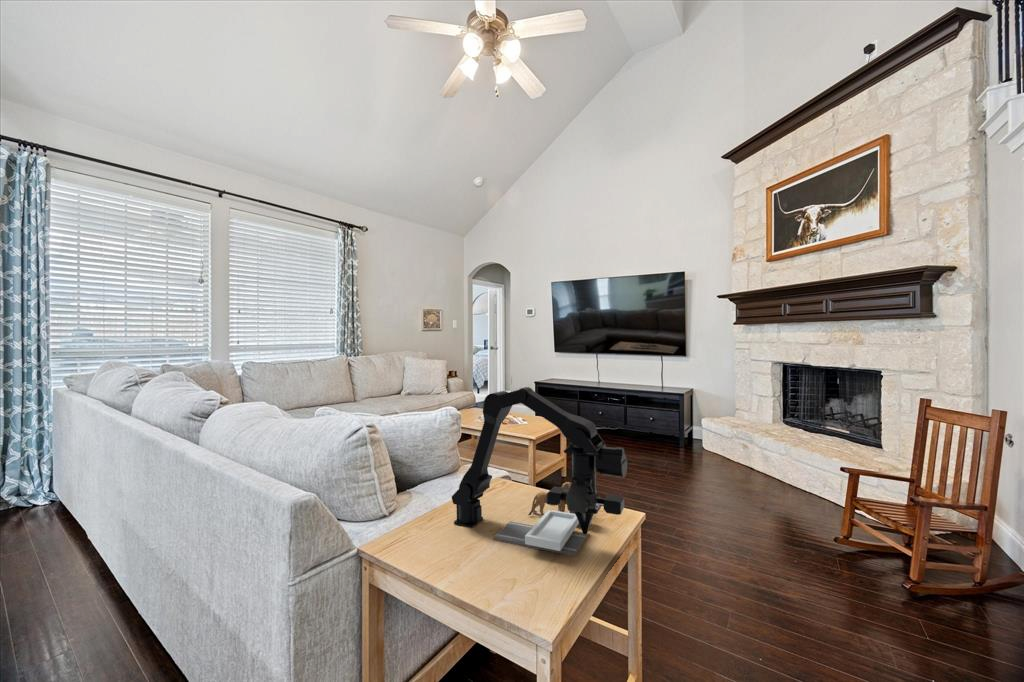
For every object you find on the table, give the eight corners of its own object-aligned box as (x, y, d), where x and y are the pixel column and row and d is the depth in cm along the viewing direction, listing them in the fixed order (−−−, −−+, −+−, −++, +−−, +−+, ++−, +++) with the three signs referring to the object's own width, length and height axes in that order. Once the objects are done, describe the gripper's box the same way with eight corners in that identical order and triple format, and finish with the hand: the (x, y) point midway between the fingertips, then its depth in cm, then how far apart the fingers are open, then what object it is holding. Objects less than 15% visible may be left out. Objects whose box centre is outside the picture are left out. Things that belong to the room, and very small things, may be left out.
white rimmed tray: (525, 550, 100) (524, 535, 100) (548, 522, 116) (548, 509, 116) (560, 557, 96) (559, 542, 96) (579, 527, 112) (579, 514, 112)
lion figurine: (571, 507, 127) (570, 479, 128) (578, 514, 122) (577, 484, 122) (526, 513, 124) (525, 483, 124) (530, 520, 119) (530, 489, 119)
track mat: (494, 539, 108) (493, 536, 108) (510, 524, 117) (510, 521, 117) (574, 556, 99) (574, 552, 99) (585, 538, 108) (585, 534, 108)
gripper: (537, 477, 99) (539, 541, 99) (615, 486, 91) (617, 556, 91) (552, 464, 109) (554, 522, 109) (624, 472, 101) (625, 535, 101)
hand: (585, 533), depth 103 cm, fingers closed
